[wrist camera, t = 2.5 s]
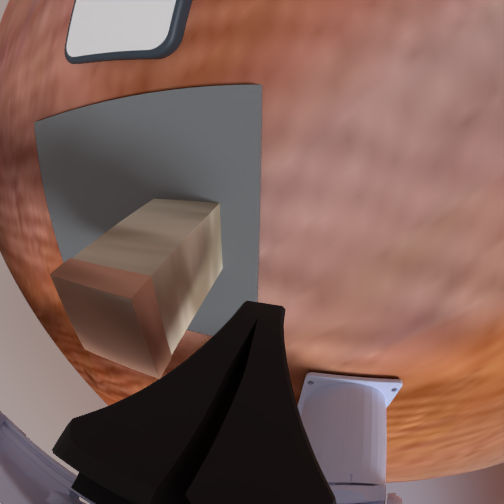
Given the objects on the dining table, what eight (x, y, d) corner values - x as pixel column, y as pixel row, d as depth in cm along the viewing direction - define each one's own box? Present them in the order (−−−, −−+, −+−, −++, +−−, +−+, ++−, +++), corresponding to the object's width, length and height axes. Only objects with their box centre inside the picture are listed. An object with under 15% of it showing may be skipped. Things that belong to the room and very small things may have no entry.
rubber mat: (256, 339, 20) (254, 344, 19) (79, 294, 23) (76, 297, 23) (262, 85, 11) (259, 84, 11) (39, 121, 15) (34, 122, 14)
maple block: (223, 269, 16) (160, 378, 10) (162, 259, 17) (84, 349, 11) (220, 202, 14) (131, 298, 8) (153, 197, 15) (50, 274, 9)
